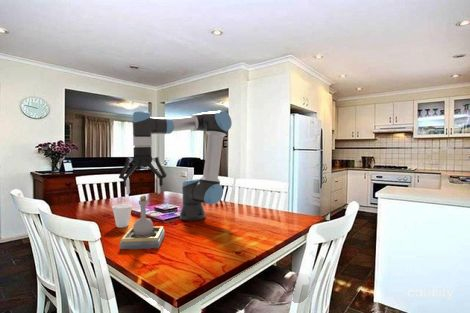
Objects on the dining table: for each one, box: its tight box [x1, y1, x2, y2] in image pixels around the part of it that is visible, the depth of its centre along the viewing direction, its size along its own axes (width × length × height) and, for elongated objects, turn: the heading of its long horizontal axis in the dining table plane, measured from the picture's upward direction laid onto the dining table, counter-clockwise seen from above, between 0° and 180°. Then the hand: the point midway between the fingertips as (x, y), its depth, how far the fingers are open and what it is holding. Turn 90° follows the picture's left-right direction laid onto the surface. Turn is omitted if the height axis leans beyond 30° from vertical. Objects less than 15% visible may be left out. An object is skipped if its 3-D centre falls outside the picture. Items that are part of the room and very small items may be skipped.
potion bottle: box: [132, 194, 155, 238], centre depth 118 cm, size 9×9×18 cm
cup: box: [111, 203, 133, 229], centre depth 141 cm, size 10×10×11 cm
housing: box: [119, 226, 166, 250], centre depth 118 cm, size 16×16×4 cm
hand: (143, 193), depth 118 cm, fingers open, 13 cm apart
